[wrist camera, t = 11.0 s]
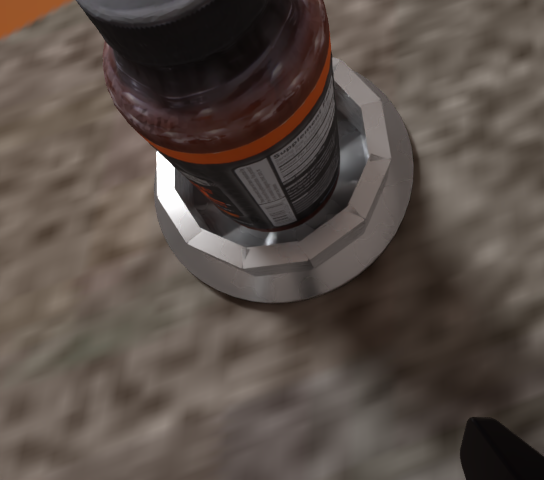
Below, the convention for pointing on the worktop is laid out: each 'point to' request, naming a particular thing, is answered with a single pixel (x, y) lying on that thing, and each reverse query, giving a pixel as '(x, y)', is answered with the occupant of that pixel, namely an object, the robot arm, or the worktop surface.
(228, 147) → the supplement bottle
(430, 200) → the worktop surface
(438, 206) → the worktop surface
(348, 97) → the faceted metal ring
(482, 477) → the robot arm
